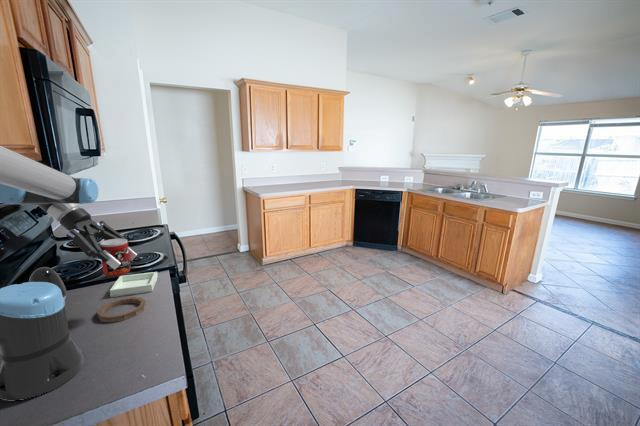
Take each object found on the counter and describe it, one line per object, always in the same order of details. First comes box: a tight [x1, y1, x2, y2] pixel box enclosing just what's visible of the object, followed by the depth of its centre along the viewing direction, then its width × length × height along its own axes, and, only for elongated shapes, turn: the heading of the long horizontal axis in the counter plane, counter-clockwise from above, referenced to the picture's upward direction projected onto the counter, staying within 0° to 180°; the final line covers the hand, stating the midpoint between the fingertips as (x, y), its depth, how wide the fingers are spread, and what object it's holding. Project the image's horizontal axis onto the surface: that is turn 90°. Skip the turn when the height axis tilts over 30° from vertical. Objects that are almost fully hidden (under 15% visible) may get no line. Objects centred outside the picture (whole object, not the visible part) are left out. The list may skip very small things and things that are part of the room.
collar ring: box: [96, 296, 147, 323], centre depth 97 cm, size 13×13×2 cm
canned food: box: [99, 238, 132, 278], centre depth 94 cm, size 8×8×11 cm
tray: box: [109, 271, 159, 298], centre depth 115 cm, size 14×14×3 cm
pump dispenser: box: [28, 266, 67, 301], centre depth 98 cm, size 10×10×15 cm
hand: (126, 261), depth 94 cm, fingers closed on canned food, 8 cm apart
